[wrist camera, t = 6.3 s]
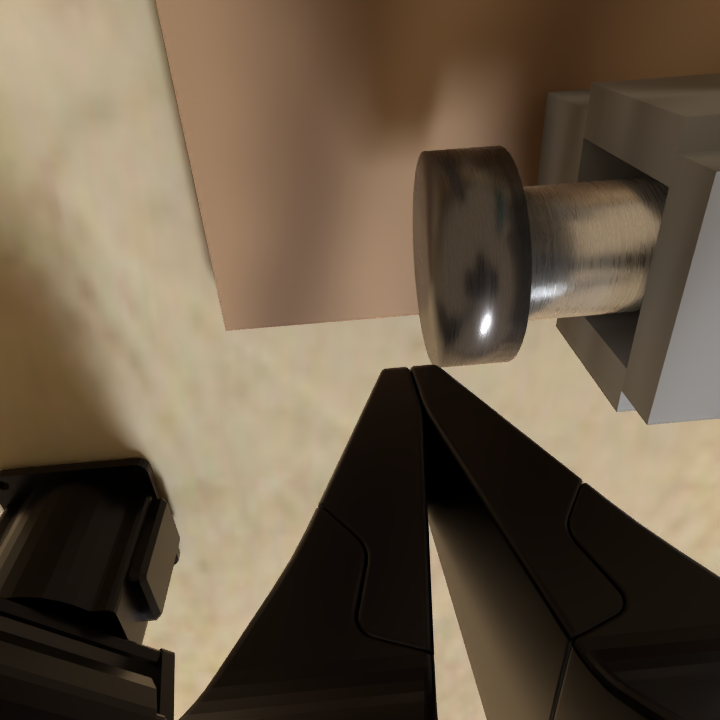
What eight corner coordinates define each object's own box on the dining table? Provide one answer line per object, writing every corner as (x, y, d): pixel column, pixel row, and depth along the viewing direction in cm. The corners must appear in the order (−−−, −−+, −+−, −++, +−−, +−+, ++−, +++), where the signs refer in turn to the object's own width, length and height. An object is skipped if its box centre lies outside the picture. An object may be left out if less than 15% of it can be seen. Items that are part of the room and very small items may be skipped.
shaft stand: (230, 313, 20) (179, 515, 13) (100, -321, 12) (-272, -850, 4) (762, 269, 21) (1028, 437, 13) (986, -370, 13) (2046, -927, 5)
